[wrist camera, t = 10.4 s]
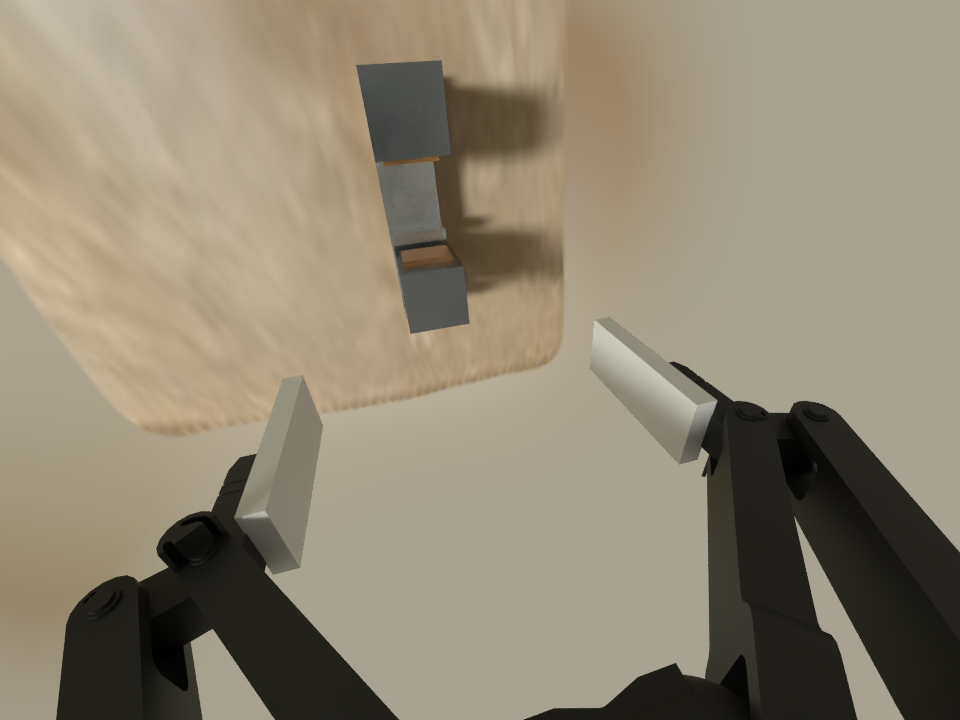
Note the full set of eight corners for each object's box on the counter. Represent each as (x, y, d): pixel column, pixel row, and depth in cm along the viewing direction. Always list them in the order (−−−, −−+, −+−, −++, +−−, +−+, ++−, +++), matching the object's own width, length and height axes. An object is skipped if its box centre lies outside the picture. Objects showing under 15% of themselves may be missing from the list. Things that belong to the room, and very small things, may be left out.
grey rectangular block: (392, 241, 29) (398, 270, 22) (443, 234, 29) (463, 261, 23) (402, 293, 31) (410, 333, 25) (449, 286, 32) (469, 323, 25)
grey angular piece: (359, 78, 25) (353, 51, 17) (417, 75, 26) (440, 46, 18) (402, 298, 34) (413, 352, 25) (445, 291, 34) (470, 341, 26)
